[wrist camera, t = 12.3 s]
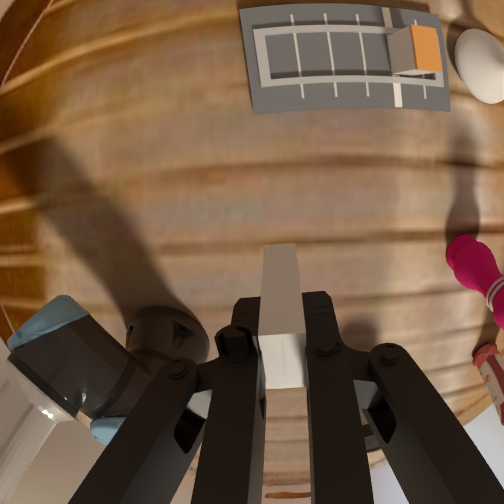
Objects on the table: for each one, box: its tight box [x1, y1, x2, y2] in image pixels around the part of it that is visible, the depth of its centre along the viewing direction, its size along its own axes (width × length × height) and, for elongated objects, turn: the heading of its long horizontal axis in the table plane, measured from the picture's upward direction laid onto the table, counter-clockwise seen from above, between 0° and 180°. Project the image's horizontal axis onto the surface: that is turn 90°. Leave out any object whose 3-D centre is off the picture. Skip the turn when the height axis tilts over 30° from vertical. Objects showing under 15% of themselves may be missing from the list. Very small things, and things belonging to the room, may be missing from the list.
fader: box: [387, 24, 442, 75], centre depth 26 cm, size 3×5×8 cm, turn 7°
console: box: [239, 3, 450, 115], centre depth 31 cm, size 26×14×3 cm, turn 97°
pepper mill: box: [446, 234, 504, 329], centre depth 34 cm, size 7×7×20 cm
